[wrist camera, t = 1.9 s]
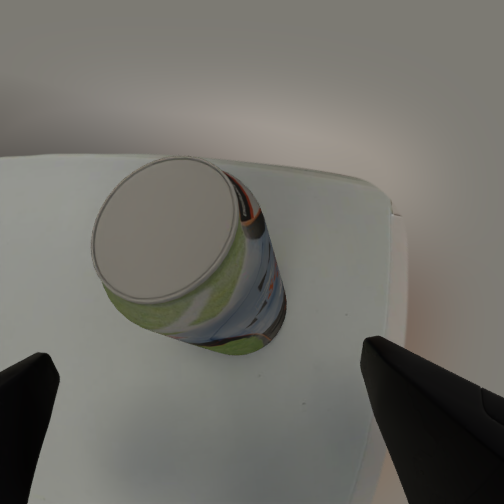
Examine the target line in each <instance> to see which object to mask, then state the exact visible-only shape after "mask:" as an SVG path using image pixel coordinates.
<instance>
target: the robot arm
mask: <svg viewBox="0 0 504 504" xmlns="http://www.w3.org/2000/svg"><path fill="white" fill-rule="evenodd" d="M360 367H361V372H362V375H363V379H364V382H365V385H366V389H367V392H368V396H369V399H370V403H371V407H372V410H373V413H374V416H375V419H376V422H377V424H378V426H379V429H380V431H381V434H382V436H383V439H384V441H385V443H386V446H387V448H388V451H389V453H390V456H391V458H392V461H393V463H394V466H395V469H396V471H397V474H398V476H399V479H400V481H401V484H402V487H403V489H404V492H405V495H406V497H407V500H408V503H409V504H504V398H503V397H501V396H499V395H497V394H495V393H492V392H490V391H488V390H486V389H484V388H480V386H478V385H476V384H474V383H472V382H470V381H468V380H466V379H464V378H462V377H460V376H458V375H456V374H454V373H452V372H450V371H448V370H446V369H444V368H442V367H440V366H438V365H436V364H434V363H432V362H430V361H428V360H426V359H424V358H422V357H420V356H418V355H416V354H414V353H412V352H410V351H408V350H407V349H405V348H403V347H401V346H399V345H397V344H395V343H393V342H391V341H389V340H387V339H385V338H383V337H381V336H373V337H367V338H366V339H365V340H364V342H363V348H362V354H361V361H360ZM59 382H60V376H59V373H58V371H57V369H56V367H55V365H54V363H53V361H52V359H51V357H50V355H49V354H47V353H40V352H38V353H35V354H33V355H31V356H29V357H27V358H25V359H24V360H22V361H20V362H18V363H16V364H14V365H12V366H11V367H9V368H7V369H5V370H3V371H1V372H0V504H27V503H28V498H29V494H30V489H31V485H32V481H33V477H34V473H35V469H36V465H37V462H38V458H39V454H40V451H41V448H42V444H43V441H44V438H45V435H46V431H47V428H48V425H49V422H50V418H51V414H52V410H53V406H54V402H55V398H56V394H57V390H58V386H59Z"/></svg>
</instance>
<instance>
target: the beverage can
mask: <svg viewBox="0 0 504 504" xmlns="http://www.w3.org/2000/svg"><path fill="white" fill-rule="evenodd" d="M91 255H92V260H93V265H94V268H95V270H96V272H97V275H98V277H99V278H100V279H101V281H102V283H103V286H104V288H105V291H106V293H107V295H108V297H109V299H110V300H111V302H112V303H113V304H114V306H115V307H116V308H117V310H118V311H119V312H120V313H122V314H123V315H124V316H125V317H126V318H127V319H128V320H130V321H131V322H133V323H135V324H137V325H139V326H140V327H142V328H145V329H148V330H150V331H153V332H156V333H159V334H162V335H165V336H168V337H171V338H174V339H177V340H180V341H183V342H186V343H189V344H192V345H196V346H199V347H202V348H205V349H209V350H212V351H215V352H219V353H223V354H227V355H244V354H249V353H252V352H255V351H257V350H259V349H261V348H263V347H264V346H265V345H267V344H268V343H269V342H270V341H271V340H272V339H273V338H274V337H275V336H276V335H277V333H278V332H279V330H280V328H281V326H282V324H283V322H284V319H285V314H286V303H287V301H286V295H285V291H284V287H283V283H282V280H281V276H280V272H279V269H278V265H277V262H276V258H275V255H274V251H273V247H272V244H271V240H270V237H269V233H268V230H267V226H266V223H265V219H264V216H263V214H262V211H261V208H260V206H259V203H258V202H257V200H256V199H255V197H254V196H253V194H252V193H251V191H250V190H249V189H248V188H247V187H246V186H245V185H244V184H243V183H242V182H241V181H240V180H238V179H237V178H235V177H234V176H232V175H230V174H229V173H227V172H224V171H222V170H220V169H219V168H218V167H217V166H215V165H213V164H212V163H210V162H208V161H206V160H203V159H201V158H196V157H191V156H173V157H166V158H162V159H159V160H155V161H153V162H151V163H148V164H146V165H144V166H142V167H140V168H139V169H137V170H135V171H134V172H132V173H131V174H130V175H128V176H127V177H126V178H125V179H123V180H122V181H121V182H120V183H119V184H118V185H117V186H116V187H115V188H114V190H113V191H112V192H111V193H110V195H109V196H108V197H107V199H106V200H105V202H104V204H103V205H102V207H101V209H100V211H99V213H98V216H97V218H96V220H95V224H94V227H93V231H92V239H91Z"/></svg>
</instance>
